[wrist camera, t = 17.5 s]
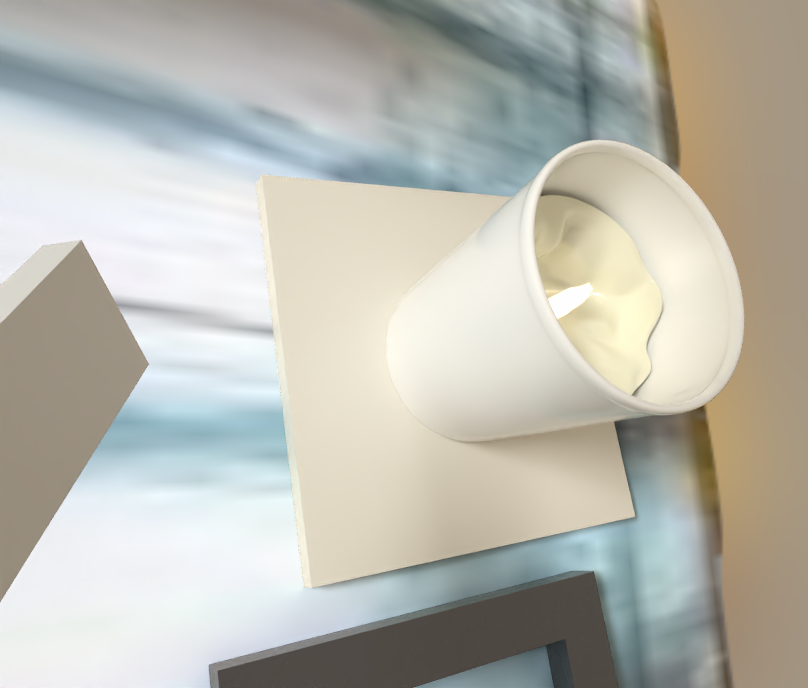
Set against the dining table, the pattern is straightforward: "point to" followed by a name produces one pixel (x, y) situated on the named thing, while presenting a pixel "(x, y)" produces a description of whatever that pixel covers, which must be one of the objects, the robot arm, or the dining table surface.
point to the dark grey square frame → (446, 643)
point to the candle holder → (573, 305)
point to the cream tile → (380, 404)
